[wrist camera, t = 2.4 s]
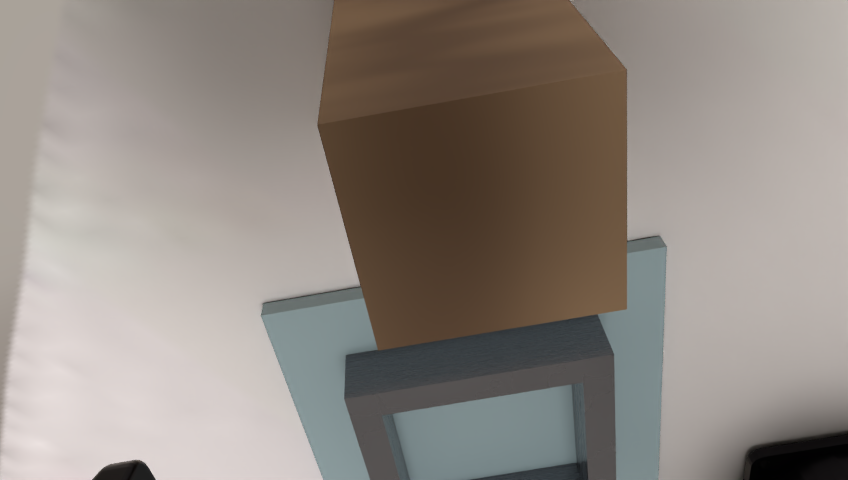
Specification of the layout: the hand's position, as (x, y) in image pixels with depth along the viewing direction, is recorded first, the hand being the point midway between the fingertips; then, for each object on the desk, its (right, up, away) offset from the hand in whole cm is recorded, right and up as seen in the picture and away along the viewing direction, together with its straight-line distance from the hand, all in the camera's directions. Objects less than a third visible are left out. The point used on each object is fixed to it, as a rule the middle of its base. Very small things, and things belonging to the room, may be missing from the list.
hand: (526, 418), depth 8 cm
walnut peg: (-1, +7, +11) cm, 13 cm away
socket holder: (+1, -4, +19) cm, 19 cm away
